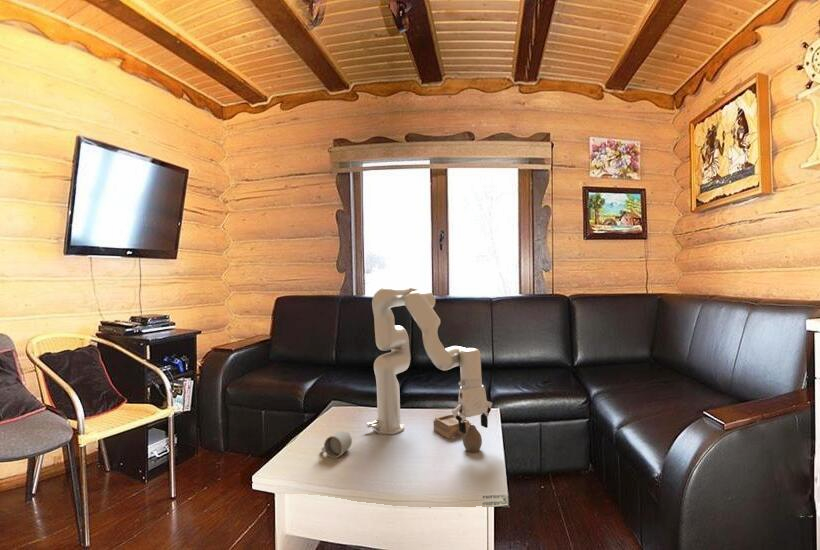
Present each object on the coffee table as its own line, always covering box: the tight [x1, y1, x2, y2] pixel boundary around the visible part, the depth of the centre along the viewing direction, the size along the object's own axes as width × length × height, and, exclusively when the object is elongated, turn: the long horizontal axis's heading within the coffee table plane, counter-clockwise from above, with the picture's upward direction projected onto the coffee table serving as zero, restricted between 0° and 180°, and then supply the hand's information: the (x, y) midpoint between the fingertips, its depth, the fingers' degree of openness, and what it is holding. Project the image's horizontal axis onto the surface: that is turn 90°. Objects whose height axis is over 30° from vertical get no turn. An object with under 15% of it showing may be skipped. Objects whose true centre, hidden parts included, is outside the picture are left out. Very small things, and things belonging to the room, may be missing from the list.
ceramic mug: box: [321, 430, 353, 459], centre depth 149 cm, size 11×8×8 cm
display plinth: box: [433, 413, 472, 440], centre depth 166 cm, size 11×11×5 cm
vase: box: [462, 424, 483, 453], centre depth 149 cm, size 7×7×9 cm
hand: (473, 429), depth 148 cm, fingers open, 9 cm apart
